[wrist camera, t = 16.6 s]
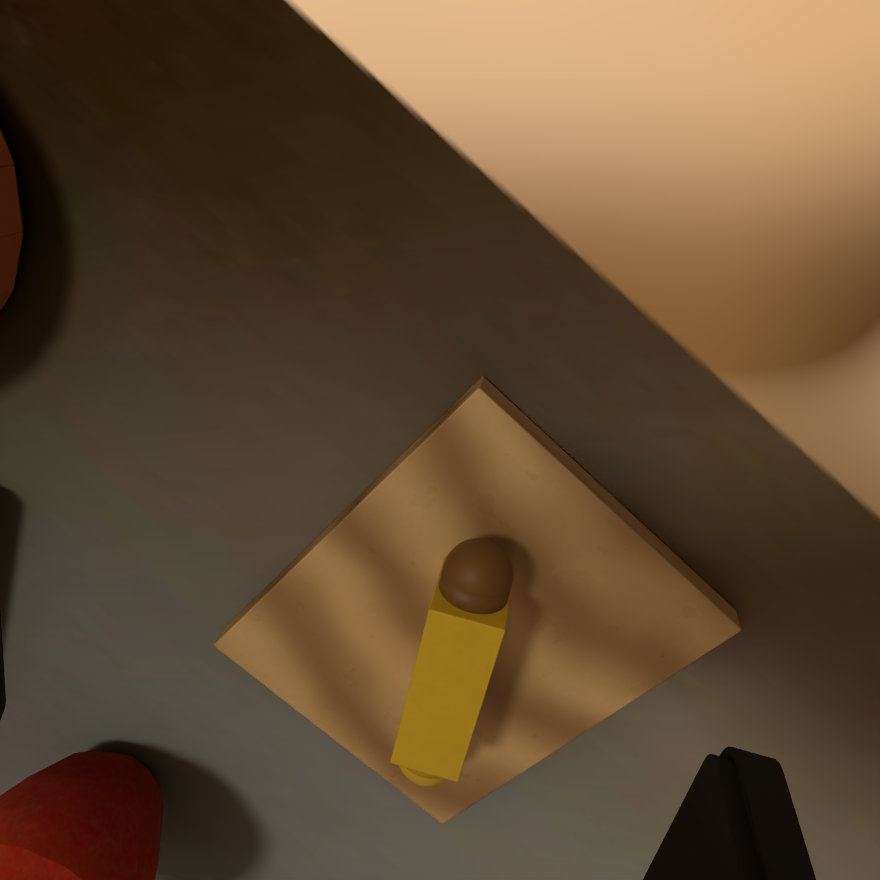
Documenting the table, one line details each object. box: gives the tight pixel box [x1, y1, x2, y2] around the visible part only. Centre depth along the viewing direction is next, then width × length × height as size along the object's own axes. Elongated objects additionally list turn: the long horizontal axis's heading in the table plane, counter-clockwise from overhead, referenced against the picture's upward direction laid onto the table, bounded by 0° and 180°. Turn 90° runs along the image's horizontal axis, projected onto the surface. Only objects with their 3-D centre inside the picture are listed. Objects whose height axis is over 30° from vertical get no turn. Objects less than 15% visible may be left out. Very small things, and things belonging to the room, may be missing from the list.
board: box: [214, 377, 742, 824], centre depth 37 cm, size 20×16×2 cm
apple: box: [0, 751, 163, 880], centre depth 41 cm, size 11×11×12 cm
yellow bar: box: [390, 538, 514, 786], centre depth 35 cm, size 14×3×4 cm, turn 168°
